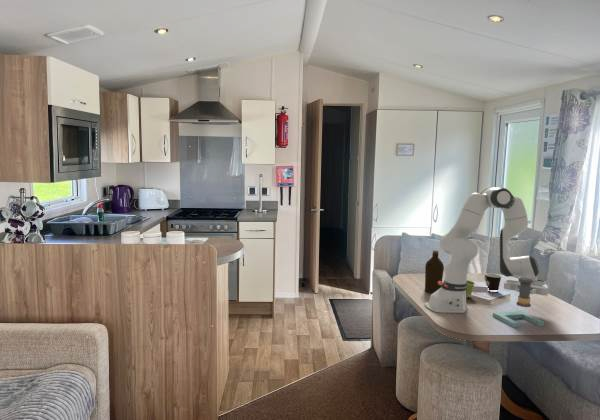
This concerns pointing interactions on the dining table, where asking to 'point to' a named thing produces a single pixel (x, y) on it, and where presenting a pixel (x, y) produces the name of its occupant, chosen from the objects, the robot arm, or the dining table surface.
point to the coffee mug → (492, 281)
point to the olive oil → (433, 273)
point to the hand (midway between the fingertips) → (524, 291)
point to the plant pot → (469, 288)
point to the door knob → (524, 292)
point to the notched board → (510, 315)
